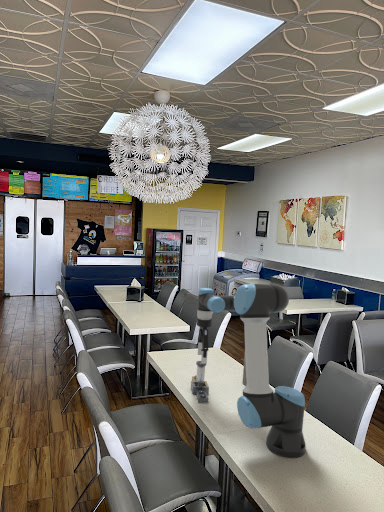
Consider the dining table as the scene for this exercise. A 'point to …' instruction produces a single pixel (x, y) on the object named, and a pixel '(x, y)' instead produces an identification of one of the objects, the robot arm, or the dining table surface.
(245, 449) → the dining table surface
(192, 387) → the chain ends
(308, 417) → the dining table surface
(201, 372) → the pin
